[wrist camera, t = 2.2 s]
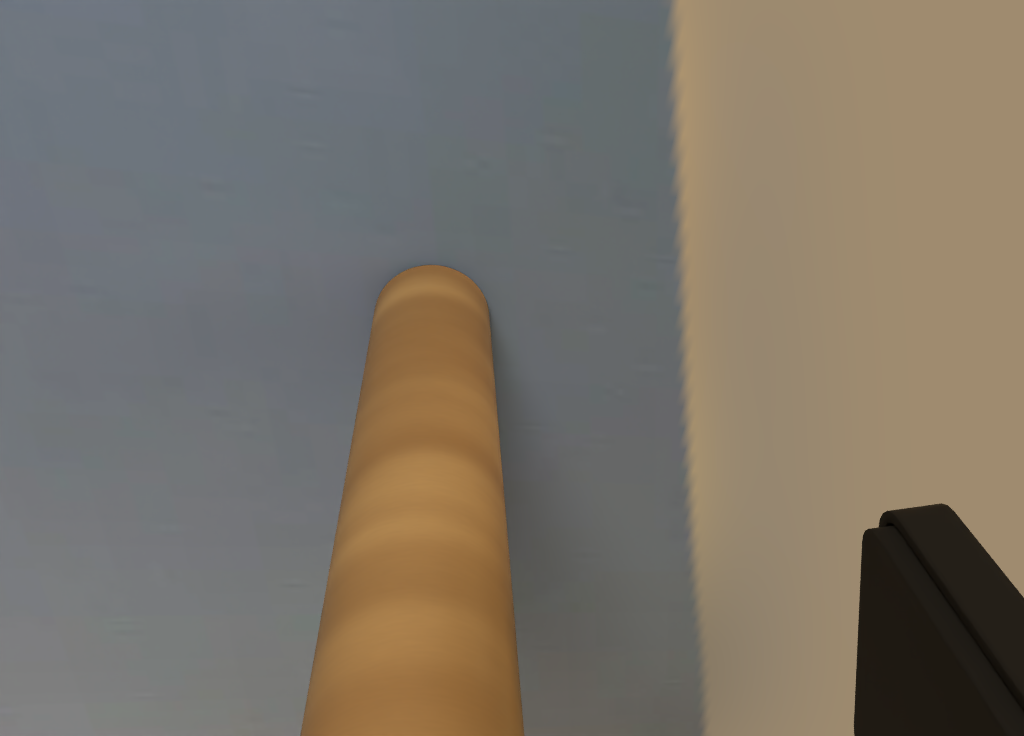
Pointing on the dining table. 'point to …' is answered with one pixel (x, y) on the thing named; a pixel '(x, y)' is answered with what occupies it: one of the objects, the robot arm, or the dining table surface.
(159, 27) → the dining table surface
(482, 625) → the stick
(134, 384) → the dining table surface
